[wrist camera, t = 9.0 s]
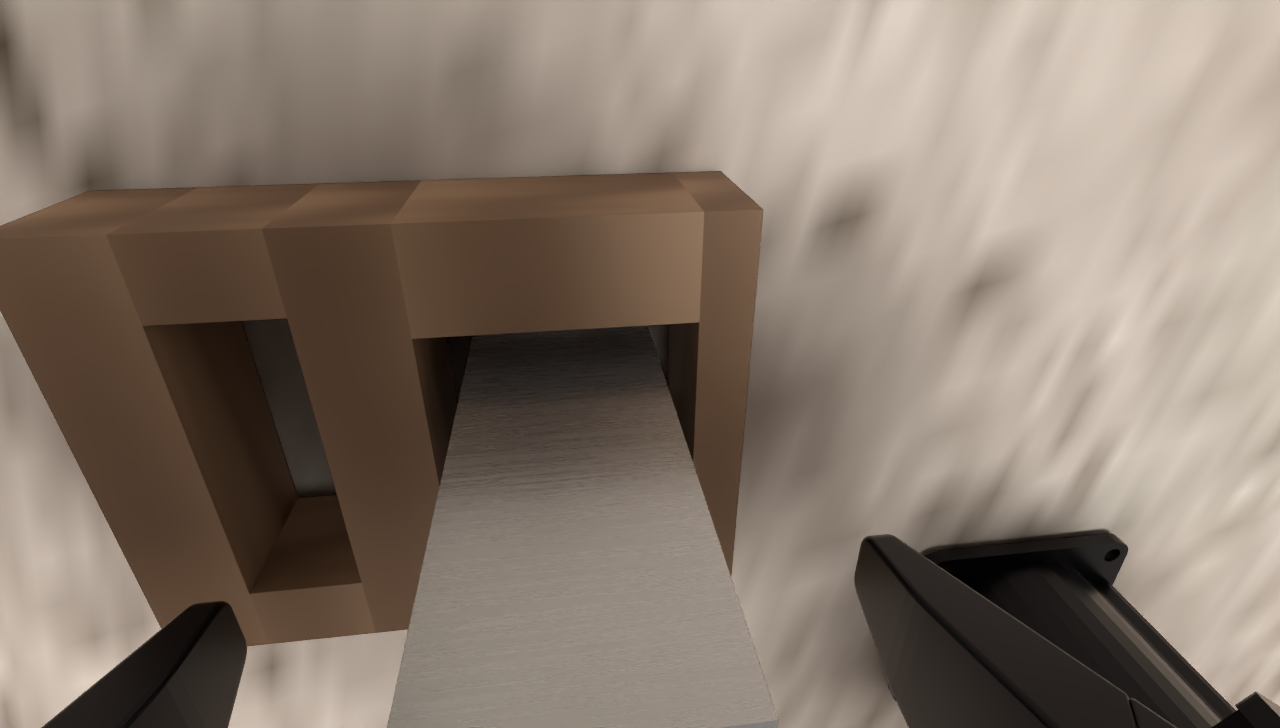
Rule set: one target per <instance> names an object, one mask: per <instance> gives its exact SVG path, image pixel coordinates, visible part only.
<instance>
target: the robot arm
mask: <svg viewBox="0 0 1280 728" xmlns="http://www.w3.org/2000/svg"><path fill="white" fill-rule="evenodd" d="M1127 552H1128V547H1127V545H1126V544H1125V543H1124V542H1122V541H1121V540H1120V539H1119V538H1118V537H1117V536H1115V535H1114V534H1100V535H1090V536H1081V537H1071V538H1061V539H1051V540H1041V541H1031V542H1022V543H1012V544H1002V545H992V546H982V547H972V548H962V549H953V550H943V551H937V552H933V553H931V554H929V555H927V556H926V557H924V556H923V555H921V554H920V553H918V552H917V551H916V550H914V549H913V548H911V547H910V546H908V545H907V544H905V543H904V542H902V541H901V540H899V539H898V538H896V537H895V536H892V535H889V534H885V535H875V536H867V537H865V538H864V539H863V541H862V543H861V547H860V552H859V556H858V561H857V566H856V571H855V577H854V581H855V588H856V592H857V595H858V598H859V601H860V604H861V606H862V609H863V612H864V615H865V618H866V621H867V623H868V626H869V629H870V632H871V635H872V638H873V640H874V643H875V646H876V649H877V652H878V655H879V658H880V660H881V663H882V666H883V669H884V672H885V674H886V677H887V680H888V688H889V690H890V692H891V694H892V696H893V698H894V699H895V701H897V703H898V706H899V708H900V710H901V712H902V714H903V716H904V718H905V720H906V723H907V725H908V727H909V728H1280V706H1278V705H1277V704H1275V703H1273V702H1272V701H1270V700H1269V699H1267V698H1266V697H1264V696H1263V695H1261V694H1259V693H1258V692H1254V693H1253V694H1251V695H1250V696H1248V697H1247V698H1245V699H1244V700H1242V701H1241V702H1239V703H1238V704H1236V705H1235V706H1236V707H1237V708H1238V710H1237V711H1236V710H1235V709H1234V708H1233V707H1232V706H1231V705H1230V704H1229V703H1228V702H1227V701H1226V700H1225V699H1224V698H1223V697H1222V696H1221V695H1220V694H1219V693H1218V692H1217V691H1216V690H1215V689H1214V688H1213V687H1212V686H1211V685H1210V684H1209V683H1208V682H1207V681H1206V680H1205V679H1204V678H1203V677H1202V676H1201V675H1200V674H1199V673H1198V672H1197V671H1196V670H1195V669H1194V668H1193V667H1192V666H1191V665H1190V664H1189V663H1188V662H1187V661H1186V660H1185V659H1184V658H1183V657H1182V656H1181V655H1180V654H1179V653H1178V652H1177V651H1176V650H1175V649H1174V648H1173V647H1172V646H1171V645H1170V644H1169V643H1168V642H1167V640H1166V639H1165V638H1164V637H1163V636H1162V635H1161V634H1160V633H1159V632H1158V631H1157V630H1156V629H1155V628H1154V627H1153V626H1152V625H1151V624H1150V623H1149V622H1148V621H1147V620H1146V619H1145V618H1144V617H1143V616H1142V615H1141V614H1140V613H1139V612H1138V611H1137V610H1136V609H1135V608H1134V607H1133V606H1132V605H1131V604H1130V603H1129V602H1128V601H1127V600H1126V599H1125V598H1124V597H1123V596H1122V595H1121V594H1120V593H1119V592H1118V591H1117V590H1116V589H1115V588H1114V587H1113V586H1112V585H1113V583H1114V581H1115V578H1116V576H1117V574H1118V572H1119V570H1120V568H1121V566H1122V564H1123V561H1124V559H1125V557H1126V555H1127ZM246 654H247V645H246V640H245V637H244V635H243V633H242V630H241V628H240V626H239V623H238V621H237V619H236V616H235V614H234V612H233V609H232V607H231V606H230V604H228V603H227V602H226V601H215V602H205V603H197V604H193V605H191V606H190V607H188V608H187V609H185V610H184V611H183V612H182V613H180V614H179V615H178V616H177V617H176V618H174V619H173V620H172V621H171V622H170V623H168V624H167V625H166V626H165V627H163V628H162V629H161V630H160V631H159V632H157V633H156V634H155V635H154V636H152V637H151V638H150V639H149V640H148V641H146V642H145V643H144V644H143V645H142V646H140V647H139V648H138V649H137V650H135V651H134V652H133V653H132V654H131V655H129V656H128V657H127V658H126V659H124V660H123V661H122V662H121V663H120V664H118V665H117V666H116V667H115V668H113V669H112V670H111V671H110V672H109V673H107V674H106V675H105V676H104V677H103V678H101V679H100V680H99V681H98V682H96V683H95V684H94V685H93V686H92V687H90V688H89V689H88V690H87V691H85V692H84V693H83V694H82V695H81V696H79V697H78V698H77V699H76V700H75V701H73V702H72V703H71V704H70V705H68V706H67V707H66V708H65V709H64V710H62V711H61V712H60V713H59V714H57V715H56V716H55V717H54V718H53V719H51V720H50V721H49V722H48V723H46V724H45V725H44V726H43V727H42V728H228V726H229V722H230V718H231V714H232V710H233V706H234V703H235V699H236V695H237V691H238V687H239V683H240V680H241V676H242V672H243V668H244V664H245V660H246Z"/></svg>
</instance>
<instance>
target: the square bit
mask: <svg viewBox="0 0 1280 728" xmlns="http://www.w3.org/2000/svg"><path fill="white" fill-rule="evenodd" d="M777 727H778V717H777V714H776V711H775V708H774V705H773V702H772V699H771V696H770V693H769V690H768V687H767V684H766V681H765V678H764V675H763V672H762V669H761V666H760V663H759V660H758V657H757V654H756V651H755V648H754V645H753V642H752V639H751V636H750V633H749V630H748V627H747V624H746V621H745V618H744V615H743V612H742V609H741V606H740V603H739V600H738V597H737V594H736V591H735V588H734V585H733V582H732V579H731V576H730V573H729V569H728V566H727V563H726V560H725V557H724V554H723V551H722V548H721V545H720V542H719V539H718V536H717V533H716V530H715V527H714V524H713V521H712V518H711V515H710V512H709V509H708V506H707V503H706V500H705V497H704V494H703V491H702V488H701V485H700V482H699V479H698V476H697V473H696V470H695V467H694V464H693V461H692V458H691V455H690V452H689V449H688V446H687V443H686V440H685V437H684V434H683V431H682V428H681V425H680V422H679V419H678V416H677V413H676V410H675V407H674V404H673V401H672V398H671V395H670V392H669V389H668V386H667V383H666V380H665V377H664V374H663V371H662V368H661V365H660V362H659V359H658V356H657V353H656V350H655V347H654V344H653V340H652V337H651V334H650V331H649V328H648V325H645V326H628V327H610V328H593V329H575V330H558V331H541V332H523V333H506V334H488V335H473V336H472V341H471V346H470V350H469V355H468V359H467V364H466V368H465V373H464V378H463V382H462V387H461V391H460V396H459V400H458V405H457V410H456V414H455V419H454V423H453V428H452V432H451V437H450V442H449V446H448V451H447V455H446V460H445V464H444V469H443V474H442V478H441V483H440V487H439V492H438V497H437V501H436V506H435V510H434V515H433V519H432V524H431V529H430V533H429V538H428V542H427V547H426V551H425V556H424V561H423V565H422V570H421V574H420V579H419V583H418V588H417V593H416V597H415V602H414V606H413V611H412V615H411V620H410V625H409V629H408V634H407V638H406V643H405V647H404V652H403V657H402V661H401V666H400V670H399V675H398V680H397V684H396V689H395V693H394V698H393V702H392V707H391V712H390V716H389V721H388V725H387V728H777Z"/></svg>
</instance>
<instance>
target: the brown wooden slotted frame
mask: <svg viewBox="0 0 1280 728" xmlns="http://www.w3.org/2000/svg"><path fill="white" fill-rule="evenodd" d="M762 218H763V209H762V208H761V207H760V206H759V205H758V204H756V203H755V202H754V201H753V200H752V199H751V198H750V197H749V196H748V195H746V194H745V193H744V192H743V191H742V190H741V189H740V188H739V187H738V186H736V185H735V184H734V183H733V182H732V181H731V180H730V179H729V178H728V177H726V176H725V175H724V174H723V173H722V172H721V171H711V172H679V173H647V174H615V175H583V176H551V177H519V178H486V179H454V180H422V181H390V182H358V183H326V184H294V185H262V186H230V187H198V188H166V189H134V190H102V191H88V192H85V193H83V194H80V195H78V196H75V197H72V198H70V199H67V200H65V201H62V202H60V203H57V204H55V205H52V206H50V207H47V208H45V209H42V210H40V211H37V212H35V213H32V214H29V215H27V216H24V217H22V218H19V219H17V220H14V221H12V222H9V223H7V224H4V225H2V226H0V311H1V313H2V315H3V317H4V319H5V320H6V322H7V324H8V326H9V328H10V330H11V332H12V334H13V336H14V338H15V340H16V342H17V344H18V346H19V348H20V350H21V352H22V354H23V356H24V358H25V360H26V362H27V364H28V366H29V368H30V370H31V372H32V374H33V376H34V378H35V380H36V382H37V384H38V386H39V388H40V390H41V392H42V394H43V396H44V398H45V399H46V401H47V403H48V405H49V407H50V409H51V411H52V413H53V415H54V417H55V419H56V421H57V423H58V425H59V427H60V429H61V431H62V433H63V435H64V437H65V439H66V441H67V443H68V445H69V447H70V449H71V451H72V453H73V455H74V457H75V459H76V461H77V463H78V465H79V467H80V469H81V471H82V473H83V475H84V477H85V479H86V480H87V482H88V484H89V486H90V488H91V490H92V492H93V494H94V496H95V498H96V500H97V502H98V504H99V506H100V508H101V510H102V512H103V514H104V516H105V518H106V520H107V522H108V524H109V526H110V528H111V530H112V532H113V534H114V536H115V538H116V540H117V542H118V544H119V546H120V548H121V550H122V552H123V554H124V556H125V558H126V559H127V561H128V563H129V565H130V567H131V569H132V571H133V573H134V575H135V577H136V579H137V581H138V583H139V585H140V587H141V589H142V591H143V593H144V595H145V597H146V599H147V601H148V603H149V605H150V607H151V609H152V611H153V613H154V615H155V617H156V619H157V621H158V623H159V625H160V627H161V629H162V628H163V627H165V626H166V625H167V624H168V623H170V622H171V621H172V620H173V619H174V618H176V617H177V616H178V615H179V614H180V613H182V612H183V611H184V610H185V609H187V608H188V607H190V606H191V605H193V604H197V603H205V602H215V601H226V602H227V603H228V604H230V606H231V607H232V609H233V612H234V614H235V616H236V619H237V621H238V623H239V626H240V628H241V630H242V633H243V635H244V637H245V640H246V645H247V646H254V645H264V644H273V643H282V642H292V641H301V640H311V639H320V638H330V637H339V636H349V635H358V634H368V633H377V632H387V631H396V630H406V629H409V625H410V620H411V615H412V611H413V606H414V602H415V597H416V593H417V588H418V583H419V579H420V574H421V570H422V565H423V561H424V556H425V551H426V547H427V542H428V538H429V533H430V529H431V524H432V519H433V515H434V510H435V506H436V501H437V497H438V492H439V487H440V483H441V478H442V474H443V469H444V464H445V460H446V455H447V451H448V446H449V442H450V437H451V432H452V428H453V423H454V419H455V414H456V410H457V401H456V395H455V389H454V382H453V376H452V370H451V363H450V357H449V351H448V345H447V338H446V337H454V336H471V335H488V334H506V333H523V332H541V331H558V330H575V329H593V328H610V327H628V326H645V325H662V324H670V334H669V382H668V389H669V392H670V395H671V398H672V401H673V404H674V407H675V410H676V413H677V416H678V419H679V422H680V425H681V428H682V431H683V434H684V437H685V440H686V443H687V446H688V449H689V452H690V455H691V458H692V461H693V464H694V467H695V470H696V473H697V476H698V479H699V482H700V485H701V488H702V491H703V494H704V497H705V500H706V503H707V506H708V509H709V512H710V515H711V518H712V521H713V524H714V527H715V530H716V533H717V536H718V539H719V542H720V545H721V548H722V551H723V554H724V557H725V560H726V563H727V566H728V569H729V573H730V576H731V574H732V562H733V551H734V539H735V528H736V516H737V505H738V493H739V482H740V470H741V459H742V447H743V436H744V424H745V413H746V401H747V390H748V378H749V367H750V355H751V344H752V333H753V321H754V310H755V298H756V287H757V275H758V264H759V252H760V241H761V229H762ZM284 318H287V320H288V323H289V327H290V331H291V334H292V338H293V341H294V345H295V348H296V352H297V355H298V359H299V362H300V366H301V369H302V373H303V377H304V380H305V384H306V387H307V391H308V394H309V398H310V401H311V405H312V408H313V412H314V416H315V419H316V423H317V426H318V430H319V433H320V437H321V440H322V444H323V447H324V451H325V454H326V458H327V462H328V465H329V469H330V472H331V476H332V479H333V483H334V486H335V490H336V493H337V495H330V496H318V497H306V498H297V495H296V491H295V488H294V485H293V482H292V479H291V476H290V473H289V470H288V466H287V463H286V460H285V457H284V454H283V451H282V448H281V445H280V441H279V438H278V435H277V432H276V429H275V426H274V423H273V420H272V416H271V413H270V410H269V407H268V404H267V401H266V398H265V394H264V391H263V388H262V385H261V382H260V379H259V376H258V373H257V369H256V366H255V363H254V360H253V357H252V354H251V351H250V348H249V344H248V341H247V338H246V335H245V332H244V329H243V326H242V323H241V321H246V320H265V319H284Z"/></svg>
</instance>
